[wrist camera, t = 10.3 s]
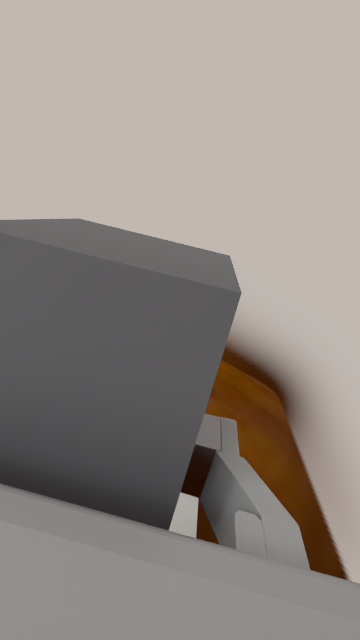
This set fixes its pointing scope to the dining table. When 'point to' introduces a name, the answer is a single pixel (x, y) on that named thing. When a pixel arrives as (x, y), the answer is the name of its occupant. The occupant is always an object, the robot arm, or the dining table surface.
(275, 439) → the dining table surface
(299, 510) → the dining table surface
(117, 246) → the tall block
